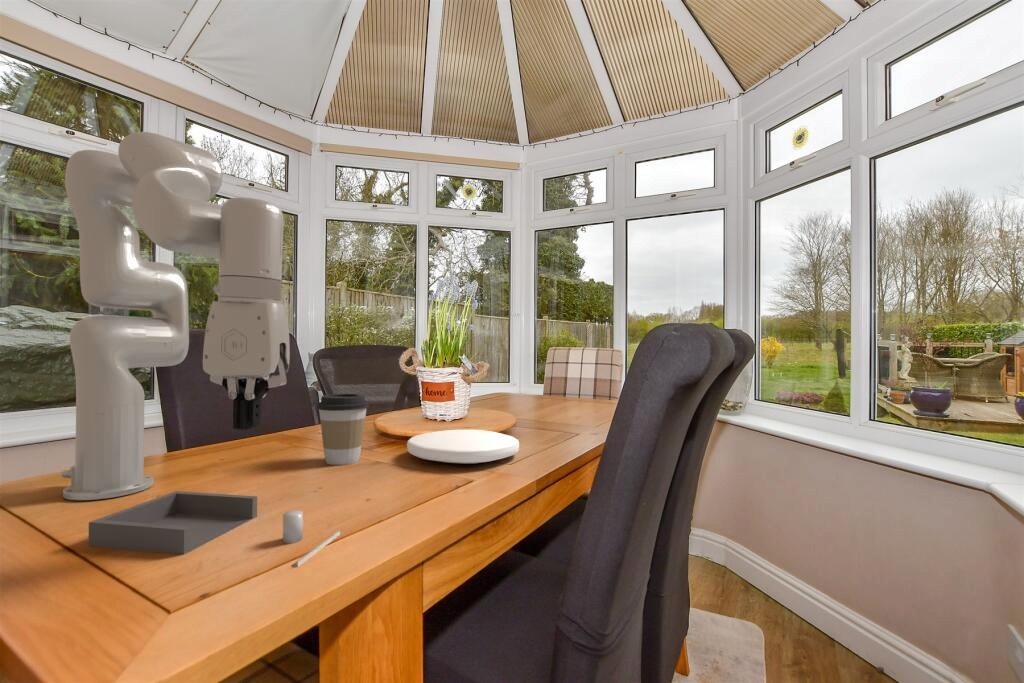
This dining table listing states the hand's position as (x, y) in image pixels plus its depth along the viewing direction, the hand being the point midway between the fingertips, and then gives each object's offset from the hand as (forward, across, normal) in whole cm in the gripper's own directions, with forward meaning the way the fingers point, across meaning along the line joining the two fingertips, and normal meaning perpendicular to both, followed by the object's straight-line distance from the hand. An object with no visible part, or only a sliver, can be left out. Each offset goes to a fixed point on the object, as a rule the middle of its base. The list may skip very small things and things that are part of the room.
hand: (246, 427), depth 65 cm
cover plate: (+16, +6, 0) cm, 17 cm away
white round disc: (+16, +17, +54) cm, 58 cm away
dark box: (+16, -9, 0) cm, 18 cm away
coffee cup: (+16, -9, +44) cm, 47 cm away
